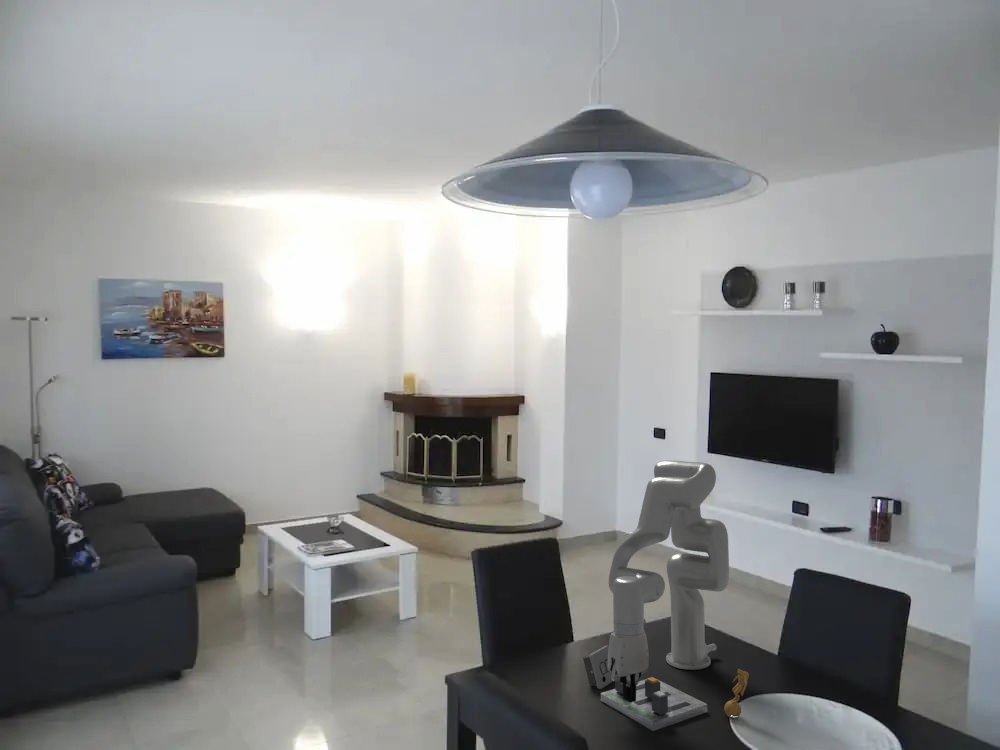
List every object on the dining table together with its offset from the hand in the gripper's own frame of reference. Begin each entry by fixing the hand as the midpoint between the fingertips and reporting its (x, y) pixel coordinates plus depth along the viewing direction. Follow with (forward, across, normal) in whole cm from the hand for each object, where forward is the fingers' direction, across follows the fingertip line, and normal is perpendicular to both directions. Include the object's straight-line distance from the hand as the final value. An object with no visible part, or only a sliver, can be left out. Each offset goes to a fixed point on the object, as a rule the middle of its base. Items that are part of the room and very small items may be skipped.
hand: (629, 699), depth 200 cm
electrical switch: (+4, -6, -19) cm, 20 cm away
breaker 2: (+1, -4, +7) cm, 8 cm away
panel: (+4, -8, 0) cm, 9 cm away
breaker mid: (+1, -8, 0) cm, 8 cm away
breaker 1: (+1, -4, -7) cm, 8 cm away
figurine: (+4, -21, +16) cm, 26 cm away
